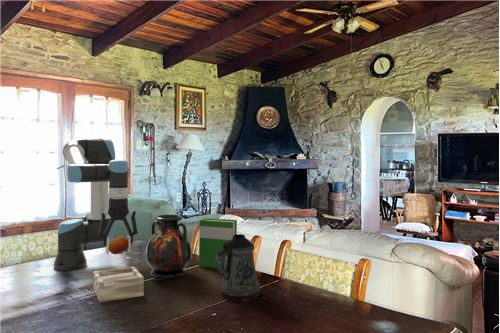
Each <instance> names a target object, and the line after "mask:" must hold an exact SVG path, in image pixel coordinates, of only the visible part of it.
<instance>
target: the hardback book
mask: <svg viewBox="0 0 500 333" xmlns="http://www.w3.org/2000/svg"><path fill="white" fill-rule="evenodd" d="M198 229H199V233H198V234H199V235H198V236H199V242H198V246H199V247H198V267H199V266H205V267H204V268H206V267H214V268H213V269H217V267H216V256H217V254H218V252H219V251H220V250H221V249H223V243H224V242H227V241H230V240H231V239H232V238H233V235H236V234H237V233H238V232H237V229H238V220H237V219H230V218H227V219H226V218H225V219H224V218H210V217H204V218H201V219H199V228H198ZM225 260H226V256H225V257H224V260H223V266H225Z"/></svg>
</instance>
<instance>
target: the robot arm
mask: <svg viewBox="0 0 500 333" xmlns="http://www.w3.org/2000/svg"><path fill="white" fill-rule="evenodd" d="M62 157H63V159H64V160H65V161H66V162H67V164H68V165H67V168H66V177H67V178H66V180H67V182H69V183H77V184H79V183H90V214H89V215H88V216H87V218H86V219H87V221H84V219H82V218H73V219H67V220H64V221H62V222H60V223H59V224H58V226H57V253H56V256H55V260H54V262H53V270H56V271H76V270H80V269H83V268H86V267H87V266H88V265H87V264H88V263H87V258H86V255H85V252H84V246H85V245H95V244H97V245H98V244H103V246H104V247H105V254H106V255H110V251H109V243H110V241H111V240H112V239H114V236H115V231H116V229H115V228H116V225H115V224H116V221H122V222H123V224H124V226H125V228H126V231H127V232H128V235H127V236H126V239H127V240H128V248H127V253H131V244H133V243H134V236H135V235H138V233H139V232H138V226H137V220H136V211H135V210H134V209H133V210H130V209H129V199H128V196H129V162H128V161H127V160H121V159H119V160H117V159H116V150H115V145H114V143H113V141H112V140H111V139H109V138H95V137H94V138H93V137H92V138H91V137H89V138H87V137H86V138H85V137H80V138H79V137H78V138H75V139H72V140H70V141H68V142H67V143H66V144H65V145H63V149H62ZM128 214H129V216H130V222H131V225H132V229H131V226H130V224H129V221H128V219H127V216H128Z"/></svg>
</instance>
